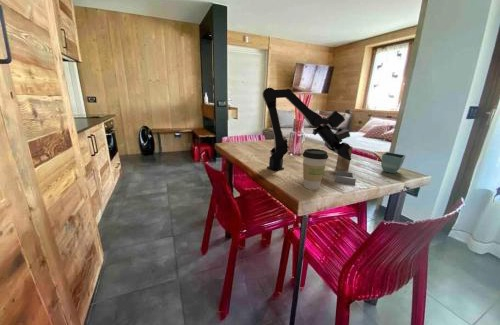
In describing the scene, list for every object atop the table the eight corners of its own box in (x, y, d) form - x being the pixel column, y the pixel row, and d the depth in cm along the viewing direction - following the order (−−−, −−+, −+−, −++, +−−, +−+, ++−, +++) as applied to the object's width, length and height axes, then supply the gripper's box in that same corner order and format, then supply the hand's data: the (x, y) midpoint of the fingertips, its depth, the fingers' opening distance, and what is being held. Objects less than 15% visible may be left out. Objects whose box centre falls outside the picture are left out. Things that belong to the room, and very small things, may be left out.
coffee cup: (320, 193, 83) (325, 155, 78) (295, 187, 88) (299, 151, 83) (326, 185, 91) (331, 150, 86) (303, 180, 96) (307, 147, 91)
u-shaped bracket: (334, 181, 96) (335, 176, 95) (335, 174, 104) (336, 169, 103) (355, 184, 93) (356, 179, 92) (354, 177, 101) (355, 172, 100)
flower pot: (401, 171, 112) (405, 155, 109) (398, 175, 105) (402, 158, 103) (382, 167, 117) (386, 151, 115) (378, 171, 111) (381, 154, 109)
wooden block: (339, 171, 108) (343, 146, 105) (335, 169, 113) (339, 144, 109) (348, 172, 108) (352, 146, 105) (344, 169, 113) (348, 144, 109)
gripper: (349, 126, 95) (369, 151, 98) (333, 121, 113) (351, 142, 116) (329, 143, 97) (349, 167, 100) (316, 136, 115) (334, 156, 118)
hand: (346, 157), depth 109 cm, fingers open, 9 cm apart
